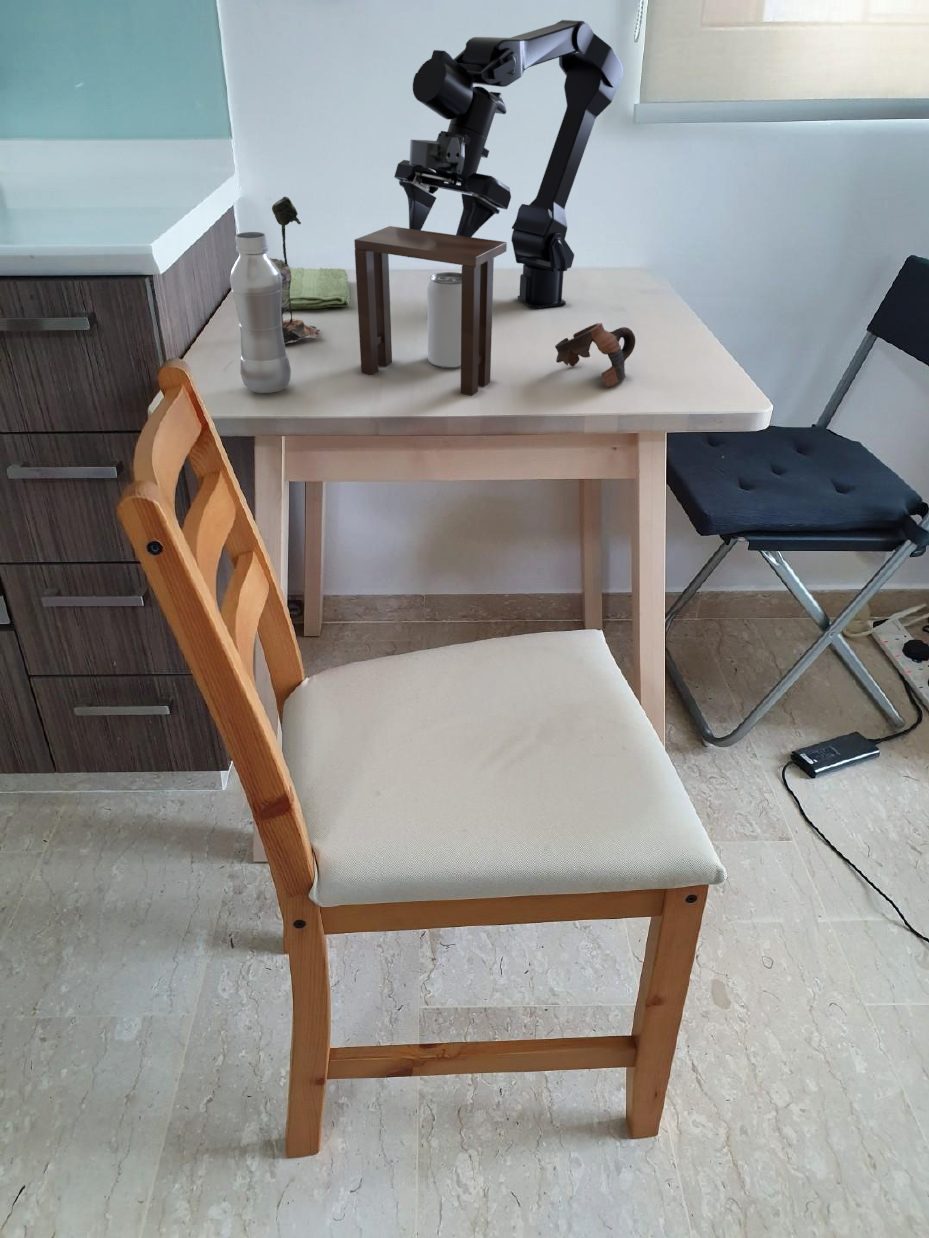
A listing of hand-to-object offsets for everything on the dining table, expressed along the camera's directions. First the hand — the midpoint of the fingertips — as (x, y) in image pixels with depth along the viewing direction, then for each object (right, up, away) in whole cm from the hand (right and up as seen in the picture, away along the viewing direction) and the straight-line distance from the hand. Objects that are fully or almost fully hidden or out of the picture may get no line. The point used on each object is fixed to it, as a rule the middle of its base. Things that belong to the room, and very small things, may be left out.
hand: (433, 244), depth 136 cm
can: (+2, -18, 0) cm, 18 cm away
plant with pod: (-23, -12, +7) cm, 27 cm away
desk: (0, -20, -5) cm, 21 cm away
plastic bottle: (-22, -24, -10) cm, 35 cm away
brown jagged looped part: (+23, -21, -4) cm, 32 cm away
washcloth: (-22, +1, +25) cm, 33 cm away
